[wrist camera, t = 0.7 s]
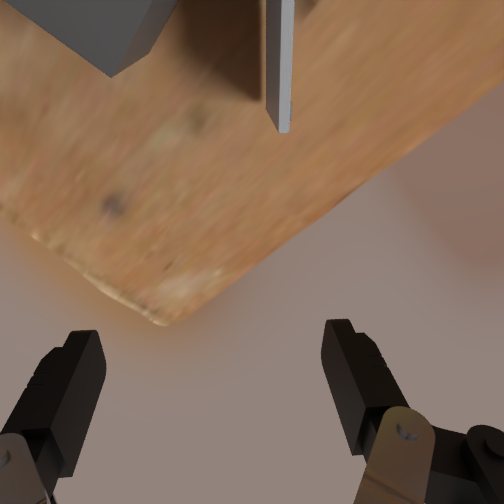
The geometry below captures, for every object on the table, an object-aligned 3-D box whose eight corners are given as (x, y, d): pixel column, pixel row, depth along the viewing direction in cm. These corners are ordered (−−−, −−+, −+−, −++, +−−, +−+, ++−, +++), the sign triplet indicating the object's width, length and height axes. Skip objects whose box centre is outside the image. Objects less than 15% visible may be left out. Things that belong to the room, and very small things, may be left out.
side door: (265, 108, 29) (278, 133, 23) (265, -147, 21) (285, -208, 15) (281, 108, 29) (298, 132, 23) (287, -147, 21) (316, -207, 15)
